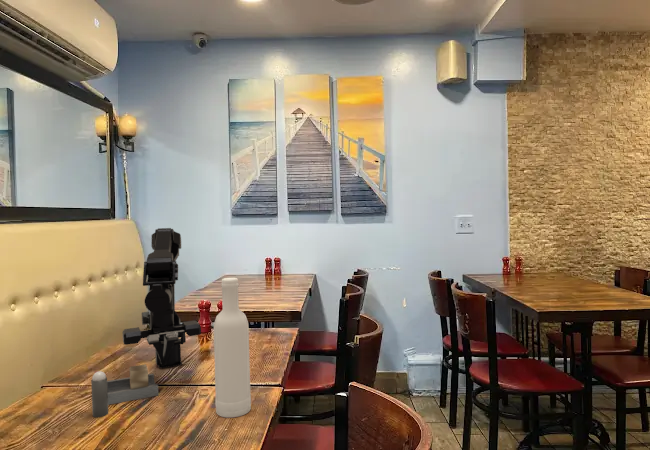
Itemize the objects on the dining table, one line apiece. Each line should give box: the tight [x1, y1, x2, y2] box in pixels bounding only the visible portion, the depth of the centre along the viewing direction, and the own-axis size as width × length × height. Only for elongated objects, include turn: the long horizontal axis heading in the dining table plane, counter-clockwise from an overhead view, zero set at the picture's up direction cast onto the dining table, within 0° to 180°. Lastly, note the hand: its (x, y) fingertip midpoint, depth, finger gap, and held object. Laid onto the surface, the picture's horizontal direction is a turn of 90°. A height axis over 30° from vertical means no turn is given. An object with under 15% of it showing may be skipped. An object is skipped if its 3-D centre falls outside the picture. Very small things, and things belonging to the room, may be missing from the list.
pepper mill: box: [90, 370, 109, 418], centre depth 105 cm, size 3×3×10 cm
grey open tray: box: [94, 370, 159, 406], centre depth 117 cm, size 14×10×6 cm
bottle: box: [213, 277, 252, 418], centre depth 105 cm, size 8×8×30 cm
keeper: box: [128, 364, 149, 389], centre depth 118 cm, size 4×4×5 cm
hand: (163, 364), depth 121 cm, fingers closed
